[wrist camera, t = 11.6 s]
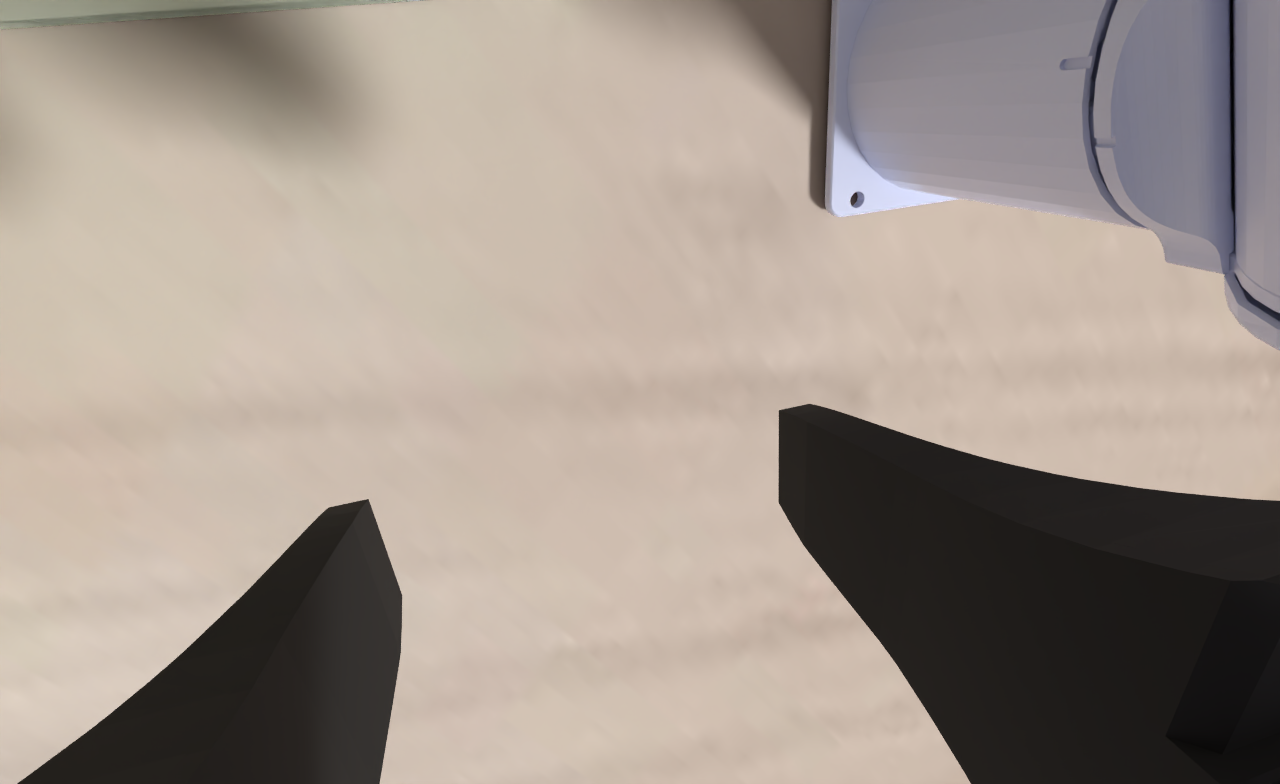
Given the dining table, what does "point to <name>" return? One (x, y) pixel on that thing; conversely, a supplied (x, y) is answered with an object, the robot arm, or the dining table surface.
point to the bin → (143, 9)
